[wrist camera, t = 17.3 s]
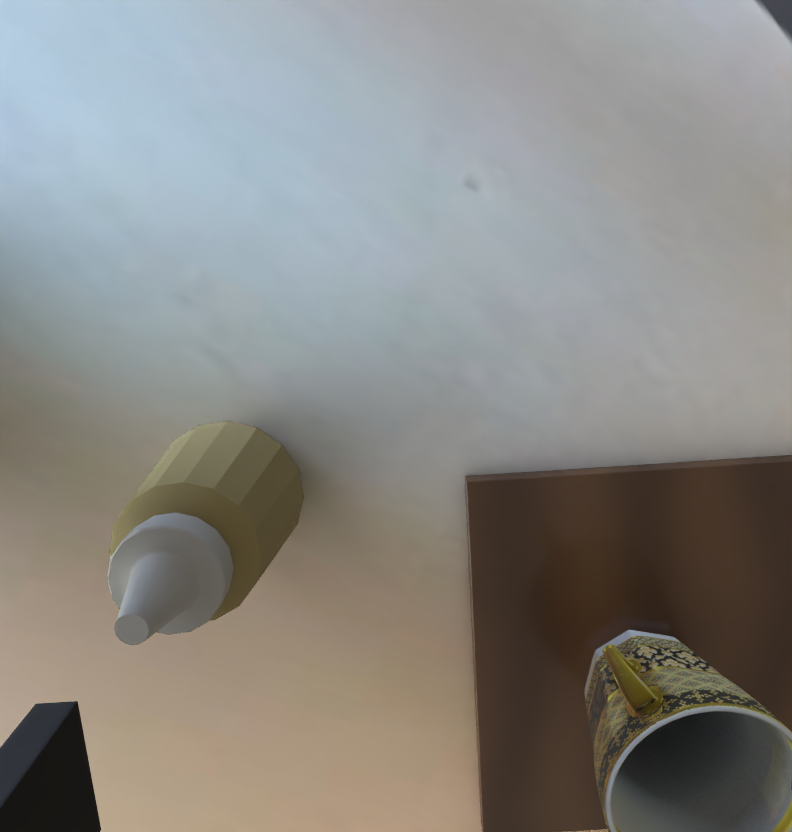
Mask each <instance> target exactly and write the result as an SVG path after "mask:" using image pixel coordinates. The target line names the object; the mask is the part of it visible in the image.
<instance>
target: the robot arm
mask: <svg viewBox="0 0 792 832" xmlns="http://www.w3.org/2000/svg"><path fill="white" fill-rule="evenodd" d="M791 790H792V784H791ZM100 830H101V827H100V822H99V816H98V811H97V805H96V800H95V794H94V789H93V783H92V778H91V772H90V767H89V762H88V756H87V751H86V745H85V740H84V734H83V729H82V723H81V718H80V713H79V707H78V702H77V701H75V702H59V703H42V704H35V706H34V707H33V708H32V709H31V711H30V712H29V713H28V714H27V716H26V717H25V718H24V719H23V720H22V722H21V723H20V724H19V725H18V727H17V728H16V729H15V730H14V732H13V733H12V734H11V735H10V737H9V738H8V739H7V740H6V741H5V743H4V744H3V745H2V746H1V748H0V832H100Z"/></svg>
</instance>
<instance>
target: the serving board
mask: <svg viewBox="0 0 792 832" xmlns="http://www.w3.org/2000/svg"><path fill="white" fill-rule="evenodd" d="M465 497H466V518H467V539H468V560H469V581H470V601H471V622H472V643H473V664H474V685H475V706H476V726H477V747H478V768H479V789H480V810H481V825H482V831H483V832H564V831H582V830H599V829H607V825H606V822H605V818H604V814H603V810H602V807H601V803H600V798H599V792H598V787H597V780H596V774H595V767H594V750H593V745H592V740H591V734H590V726H589V719H588V713H587V708H586V700H585V686H586V682H587V679H588V675H589V671H590V667H591V663H592V659H593V656H594V653H595V651H596V649H598V648H600V647H601V646H603V645H604V644H606V643H608V642H609V641H611V640H613V639H614V638H616V637H618V636H619V635H621V634H622V633H624V632H626V631H627V630H635V631H641V632H647V633H653V634H660V635H666V636H671V637H675V638H676V639H677V640H679V641H680V642H681V643H683V644H684V645H685V646H687V647H688V648H689V649H690V650H691V651H692V652H694V653H695V654H696V655H697V656H699V657H700V658H701V659H703V660H704V661H705V662H706V663H708V664H709V665H710V666H711V667H713V668H714V669H715V670H716V671H717V672H719V673H720V674H721V675H722V676H723V677H725V678H726V679H728V680H729V681H731V682H732V683H734V684H735V685H737V686H738V687H740V688H741V689H743V690H744V691H745V692H746V693H748V694H749V695H750V696H751V697H753V698H754V699H755V700H756V701H758V702H759V703H760V704H761V705H763V706H764V707H765V708H766V709H767V710H768V711H770V712H771V713H772V714H773V715H774V716H775V717H776V718H777V719H778V720H779V721H781V722H782V723H783V724H784V725H785V726H786V727H787V728H788V729H789V730H790V731H791V732H792V455H786V456H771V457H755V458H740V459H724V460H708V461H693V462H677V463H662V464H646V465H630V466H615V467H599V468H584V469H568V470H552V471H537V472H521V473H506V474H490V475H474V476H465Z"/></svg>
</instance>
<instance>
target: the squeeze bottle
mask: <svg viewBox="0 0 792 832" xmlns="http://www.w3.org/2000/svg"><path fill="white" fill-rule="evenodd" d="M303 498H304V495H303V490H302V485H301V479H300V474H299V469H298V467H297V466H296V464H295V463H294V461H293V460H292V458H291V457H290V455H289V454H288V452H287V451H286V449H285V448H284V446H283V445H282V444H281V443H279V442H278V441H276V440H275V439H273V438H272V437H271V436H269V435H268V434H266V433H265V432H263V431H262V430H260V429H259V428H257V427H253V426H249V425H245V424H240V423H236V422H232V421H222V422H216V423H209V424H203V425H198V426H197V427H195V428H193V429H192V430H190V431H188V432H187V433H185V434H184V435H182V436H180V437H179V438H177V439H175V440H174V441H173V443H172V444H171V445H170V447H169V448H168V449H167V451H166V452H165V454H164V455H163V456H162V458H161V459H160V460H159V462H158V463H157V465H156V466H155V467H154V469H153V470H152V471H151V473H150V474H149V475H148V477H147V478H146V480H145V481H144V482H143V484H142V485H141V486H140V488H139V489H138V491H137V492H136V493H135V495H134V496H133V497H132V499H131V500H130V501H129V503H128V504H127V506H126V507H125V509H124V510H123V512H122V513H121V515H120V516H119V518H118V519H117V521H116V522H115V523H114V526H113V532H112V538H111V544H110V550H109V552H110V556H111V558H110V564H109V570H108V576H107V580H108V584H109V588H110V592H111V596H112V599H113V601H114V602H115V604H116V605H117V606H118V608H119V609H120V611H119V614H118V617H117V620H116V623H115V633H116V636H117V637H118V638H119V639H120V640H121V641H122V642H124V643H125V644H129V645H137V644H140V643H142V642H144V641H145V640H146V639H148V638H149V637H150V636H152V635H153V634H154V633H156V632H157V633H162V634H167V635H170V634H177V633H184V632H191V631H192V630H194V629H196V628H198V627H199V626H201V625H203V624H204V623H206V622H208V621H209V620H216V619H217V618H219V617H221V616H223V615H224V614H226V613H228V612H229V611H231V610H233V609H235V608H236V607H238V606H240V604H241V603H242V602H243V600H244V599H245V598H246V596H247V595H248V594H249V592H250V591H251V589H252V588H253V587H254V585H255V584H256V583H257V581H258V580H259V578H260V577H261V575H262V574H263V573H264V571H265V570H266V568H267V567H268V565H269V564H270V563H271V561H272V560H273V558H274V557H275V555H276V554H277V553H278V551H279V550H280V548H281V547H282V545H283V544H284V543H285V541H286V540H287V538H288V537H289V535H290V534H291V533H292V531H293V530H294V528H295V527H296V525H297V524H298V520H299V516H300V512H301V507H302V503H303Z"/></svg>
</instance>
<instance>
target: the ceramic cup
mask: <svg viewBox="0 0 792 832" xmlns="http://www.w3.org/2000/svg"><path fill="white" fill-rule="evenodd" d="M585 700H586V708H587V713H588V719H589V726H590V734H591V740H592V745H593V750H594V767H595V774H596V780H597V787H598V792H599V798H600V803H601V807H602V810H603V814H604V818H605V822H606V825H607V829H608V831H609V832H792V790H791V784H792V732H791V731H790V730H789V729H788V728H787V727H786V726H785V725H784V724H783V723H782V722H781V721H779V720H778V719H777V718H776V717H775V716H774V715H773V714H772V713H771V712H770V711H768V710H767V709H766V708H765V707H764V706H763V705H761V704H760V703H759V702H758V701H756V700H755V699H754V698H753V697H751V696H750V695H749V694H748V693H746V692H745V691H744V690H743V689H741V688H740V687H738V686H737V685H735V684H734V683H732V682H731V681H729V680H728V679H726V678H725V677H723V676H722V675H721V674H720V673H719V672H717V671H716V670H715V669H714V668H713V667H711V666H710V665H709V664H708V663H706V662H705V661H704V660H703V659H701V658H700V657H699V656H697V655H696V654H695V653H694V652H692V651H691V650H690V649H689V648H688V647H687V646H685V645H684V644H683V643H681V642H680V641H679V640H677V639H676V638H675V637H671V636H666V635H660V634H653V633H647V632H641V631H635V630H627V631H626V632H624V633H622V634H621V635H619V636H618V637H616V638H614V639H613V640H611V641H609V642H608V643H606V644H604V645H603V646H601V647H600V648H598V649H596V651H595V653H594V656H593V659H592V663H591V667H590V671H589V675H588V679H587V682H586V686H585Z"/></svg>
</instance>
